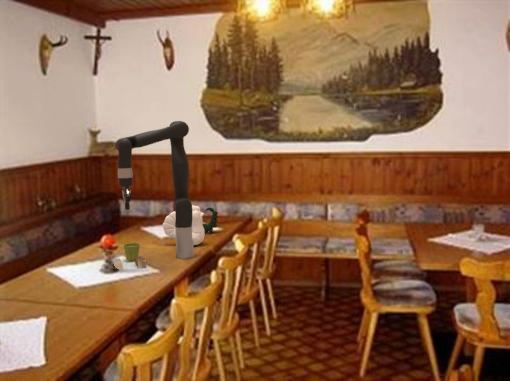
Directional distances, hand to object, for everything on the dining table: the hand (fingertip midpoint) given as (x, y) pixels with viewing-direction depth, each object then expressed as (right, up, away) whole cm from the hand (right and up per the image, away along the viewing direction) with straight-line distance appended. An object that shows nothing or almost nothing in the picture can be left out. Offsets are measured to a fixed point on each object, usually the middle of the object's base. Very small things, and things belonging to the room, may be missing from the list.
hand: (127, 209), depth 288 cm
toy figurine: (+29, -19, +87) cm, 93 cm away
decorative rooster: (+24, -24, +49) cm, 60 cm away
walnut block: (+9, -28, -6) cm, 30 cm away
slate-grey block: (-2, -29, -10) cm, 31 cm away
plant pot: (0, -28, +12) cm, 31 cm away
